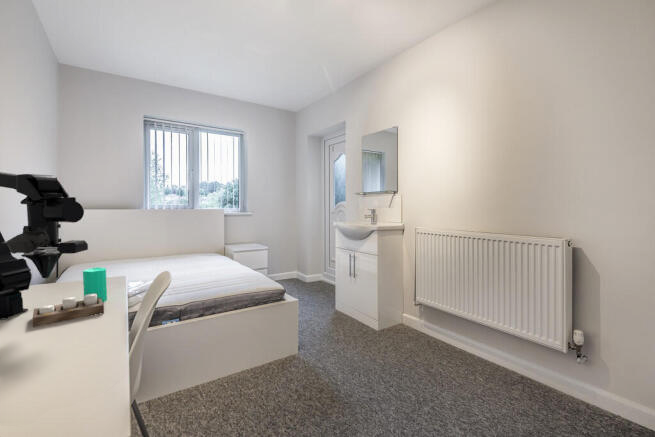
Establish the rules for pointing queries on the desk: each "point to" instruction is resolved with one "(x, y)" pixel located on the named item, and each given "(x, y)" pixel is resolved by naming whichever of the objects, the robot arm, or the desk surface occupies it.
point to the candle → (95, 282)
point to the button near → (46, 309)
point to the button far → (90, 299)
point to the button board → (67, 313)
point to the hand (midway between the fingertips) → (45, 277)
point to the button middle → (69, 303)
